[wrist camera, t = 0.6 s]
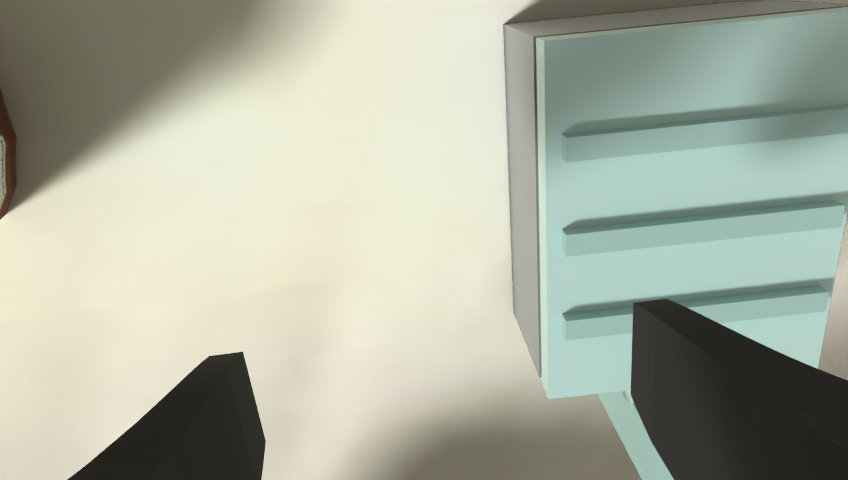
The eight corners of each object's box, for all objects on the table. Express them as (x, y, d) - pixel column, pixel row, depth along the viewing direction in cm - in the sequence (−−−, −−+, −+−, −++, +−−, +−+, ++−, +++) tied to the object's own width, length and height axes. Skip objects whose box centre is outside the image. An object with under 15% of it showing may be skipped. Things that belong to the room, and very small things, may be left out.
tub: (729, 288, 23) (795, 348, 20) (513, 312, 23) (539, 377, 19) (762, -2, 19) (853, 5, 16) (503, 24, 19) (533, 36, 15)
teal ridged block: (735, 361, 23) (835, 468, 18) (521, 385, 23) (561, 501, 18) (781, -1, 18) (935, 10, 13) (509, 26, 18) (560, 47, 13)
